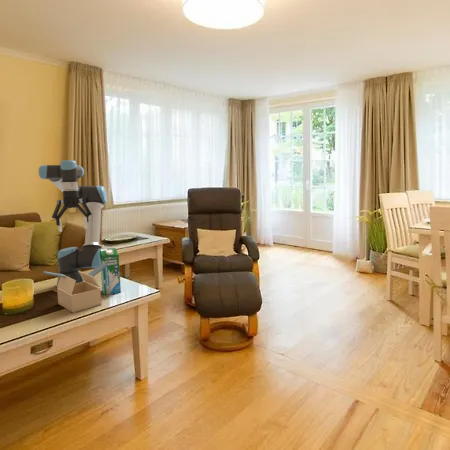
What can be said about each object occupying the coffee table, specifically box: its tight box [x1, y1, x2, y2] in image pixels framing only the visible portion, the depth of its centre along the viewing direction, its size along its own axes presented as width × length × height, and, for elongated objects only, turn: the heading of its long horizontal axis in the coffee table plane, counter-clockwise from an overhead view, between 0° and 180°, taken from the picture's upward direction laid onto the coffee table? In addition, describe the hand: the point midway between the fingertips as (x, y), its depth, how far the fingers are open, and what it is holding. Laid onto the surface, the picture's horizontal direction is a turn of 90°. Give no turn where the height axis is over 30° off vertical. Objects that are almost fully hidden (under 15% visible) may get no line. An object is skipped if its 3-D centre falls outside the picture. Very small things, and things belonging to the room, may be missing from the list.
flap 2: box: [78, 263, 108, 288], centre depth 197 cm, size 17×7×10 cm
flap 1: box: [42, 270, 76, 294], centre depth 182 cm, size 17×7×10 cm
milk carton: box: [100, 247, 122, 296], centre depth 210 cm, size 9×9×25 cm
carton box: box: [56, 281, 102, 314], centre depth 191 cm, size 18×15×9 cm
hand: (73, 230), depth 194 cm, fingers open, 13 cm apart
